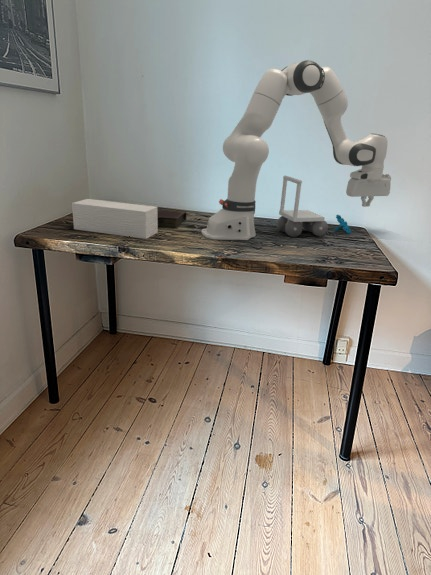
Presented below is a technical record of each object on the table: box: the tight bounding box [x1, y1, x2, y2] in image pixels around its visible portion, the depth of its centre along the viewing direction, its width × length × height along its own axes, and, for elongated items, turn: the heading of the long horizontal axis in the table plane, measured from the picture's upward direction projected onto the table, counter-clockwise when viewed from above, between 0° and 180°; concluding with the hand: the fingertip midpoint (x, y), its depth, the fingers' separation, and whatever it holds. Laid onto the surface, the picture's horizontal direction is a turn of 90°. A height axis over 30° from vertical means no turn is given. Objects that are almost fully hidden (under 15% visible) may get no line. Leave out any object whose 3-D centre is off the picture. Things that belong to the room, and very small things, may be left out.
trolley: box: [276, 175, 329, 238], centre depth 173 cm, size 19×14×23 cm
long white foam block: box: [71, 198, 159, 240], centre depth 165 cm, size 32×11×11 cm, turn 73°
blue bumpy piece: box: [333, 214, 352, 235], centre depth 183 cm, size 11×6×10 cm
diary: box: [157, 209, 187, 230], centre depth 183 cm, size 19×25×5 cm
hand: (365, 206), depth 181 cm, fingers closed
